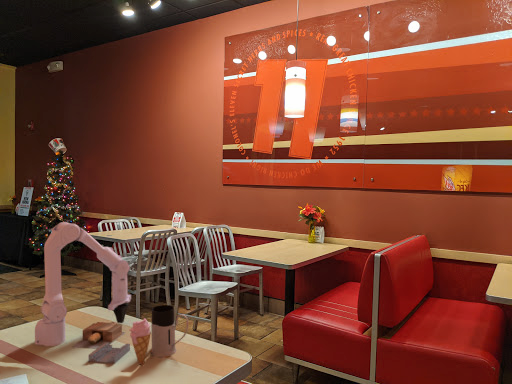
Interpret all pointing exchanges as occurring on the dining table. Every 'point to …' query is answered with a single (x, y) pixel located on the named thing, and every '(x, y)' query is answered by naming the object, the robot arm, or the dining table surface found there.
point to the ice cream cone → (140, 339)
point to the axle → (96, 337)
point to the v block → (108, 353)
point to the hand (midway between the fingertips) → (120, 322)
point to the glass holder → (164, 330)
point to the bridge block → (109, 334)
